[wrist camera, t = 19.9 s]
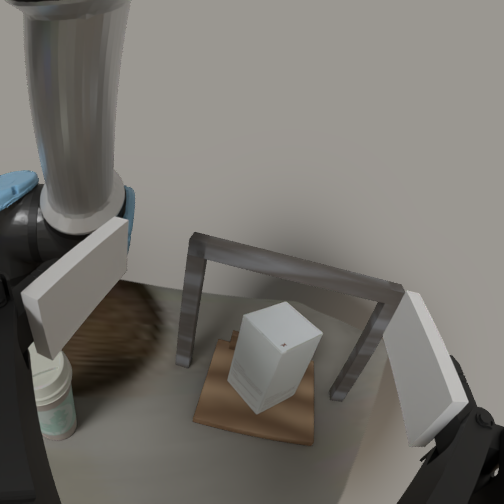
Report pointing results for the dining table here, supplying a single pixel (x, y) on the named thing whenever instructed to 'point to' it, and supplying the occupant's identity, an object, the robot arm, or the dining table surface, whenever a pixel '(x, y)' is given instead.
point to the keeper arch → (216, 385)
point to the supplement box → (272, 355)
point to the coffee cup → (53, 394)
